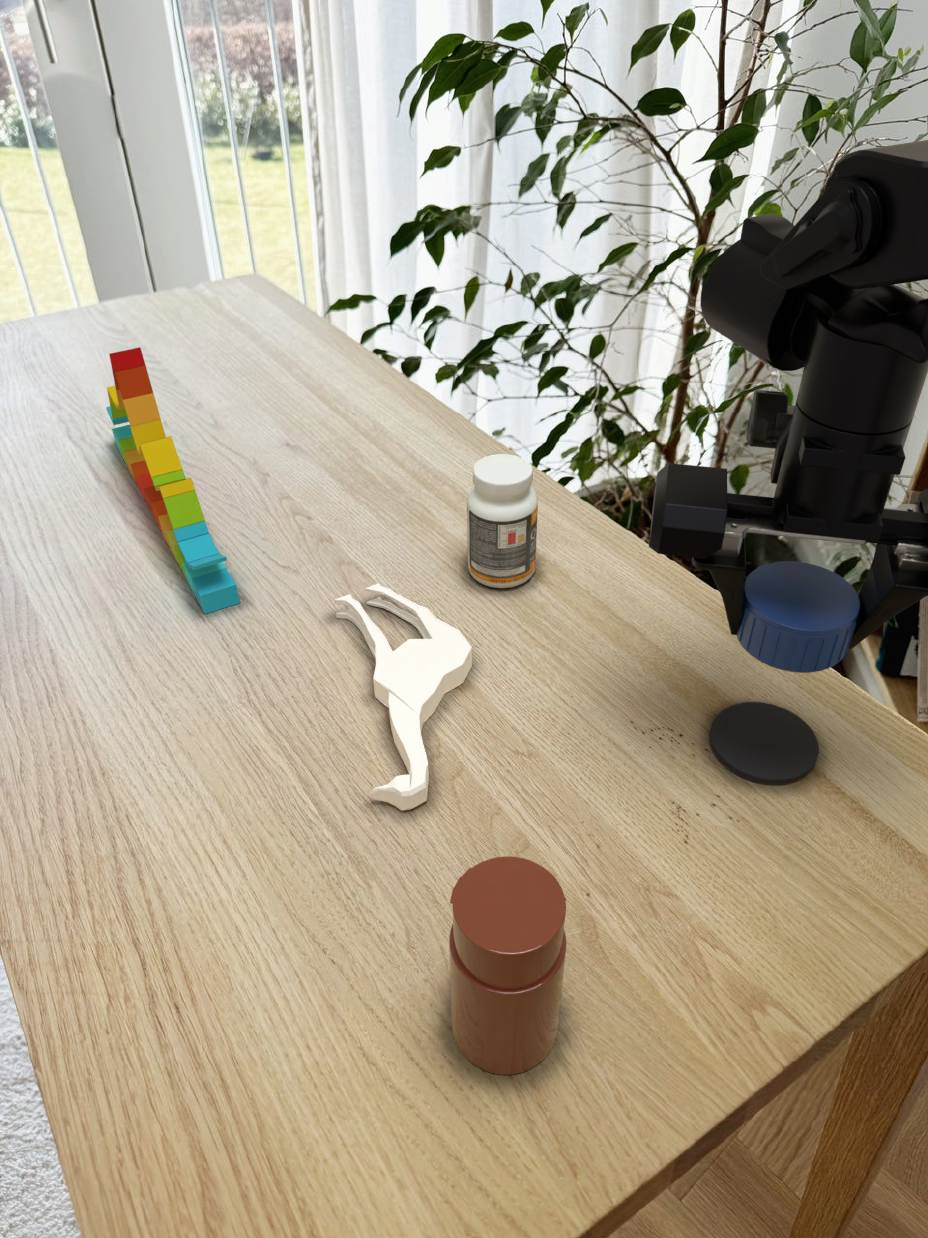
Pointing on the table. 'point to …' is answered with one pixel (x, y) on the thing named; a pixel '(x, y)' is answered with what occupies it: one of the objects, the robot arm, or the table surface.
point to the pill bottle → (502, 521)
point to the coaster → (764, 743)
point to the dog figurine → (410, 684)
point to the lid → (797, 616)
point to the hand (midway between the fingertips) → (790, 637)
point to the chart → (165, 482)
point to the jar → (506, 963)
